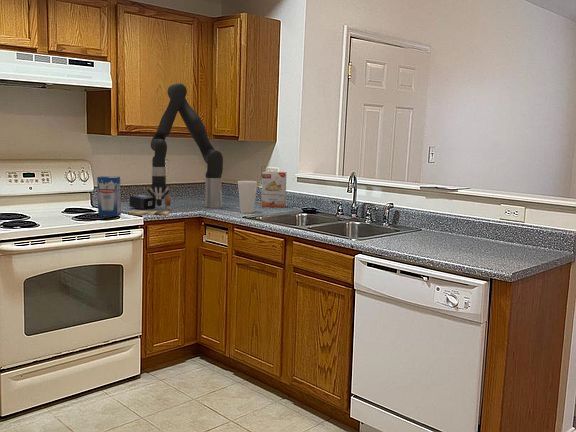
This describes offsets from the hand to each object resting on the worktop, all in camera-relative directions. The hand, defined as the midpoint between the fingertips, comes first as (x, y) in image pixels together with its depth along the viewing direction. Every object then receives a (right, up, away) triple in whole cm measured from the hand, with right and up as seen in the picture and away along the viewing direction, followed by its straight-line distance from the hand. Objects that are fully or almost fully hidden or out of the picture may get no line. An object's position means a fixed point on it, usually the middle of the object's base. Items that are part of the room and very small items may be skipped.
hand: (159, 205), depth 338 cm
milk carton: (-20, -6, -25) cm, 33 cm away
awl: (+6, -4, -8) cm, 11 cm away
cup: (+49, -4, -3) cm, 50 cm away
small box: (-5, +1, +2) cm, 6 cm away
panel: (-2, -5, -17) cm, 17 cm away
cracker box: (+64, 0, +22) cm, 67 cm away
